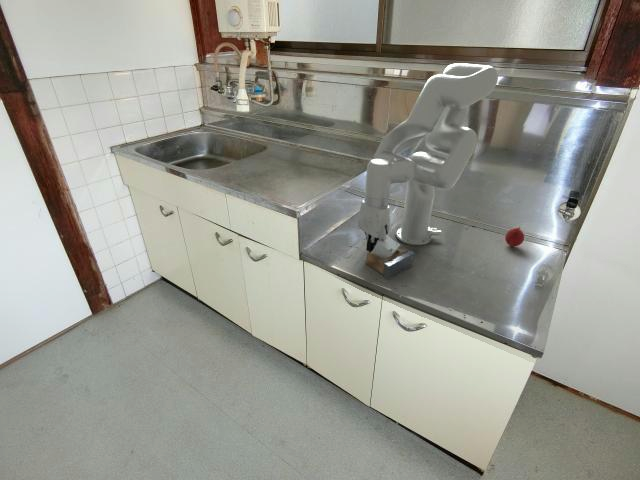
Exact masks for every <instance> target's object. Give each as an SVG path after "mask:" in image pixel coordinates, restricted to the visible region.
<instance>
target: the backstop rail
mask: <svg viewBox="0 0 640 480" xmlns="http://www.w3.org/2000/svg"><path fill="white" fill-rule="evenodd" d="M414 259H415V252H413V251H412V250H410V249H408V251H407V252H405V253H403V254H401V255H400V256H398V257H396V258H394V259H392V260H390V261H388V262H386V263H384V271H383V274H382V277H383V278H384V279H386V280H387V281H388V280H389V279H392V278H394V277H395V276H397V275H399V274H401V273H403V272H404V271H407V270H408V269H409V268H411V267H413V266H414V265H413V264H414Z"/></svg>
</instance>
